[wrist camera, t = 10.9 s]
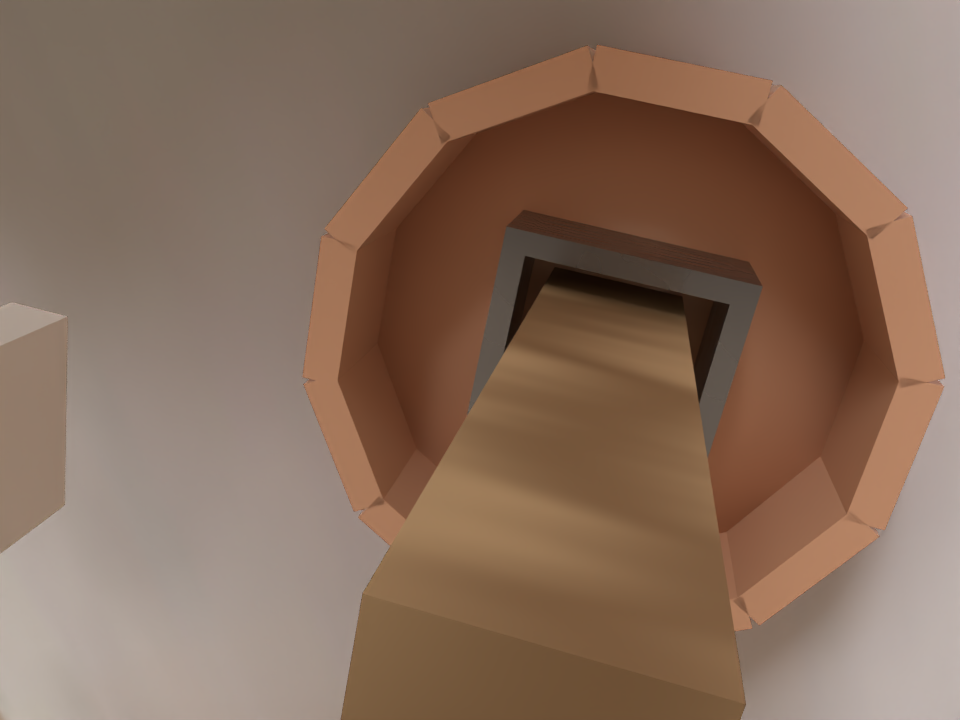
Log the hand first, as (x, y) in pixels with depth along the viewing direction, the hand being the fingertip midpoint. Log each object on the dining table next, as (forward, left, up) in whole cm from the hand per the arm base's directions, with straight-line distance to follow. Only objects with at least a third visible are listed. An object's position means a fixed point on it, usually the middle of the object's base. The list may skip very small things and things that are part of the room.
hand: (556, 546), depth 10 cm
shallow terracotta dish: (0, 0, -11) cm, 11 cm away
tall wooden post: (0, 0, -10) cm, 10 cm away
